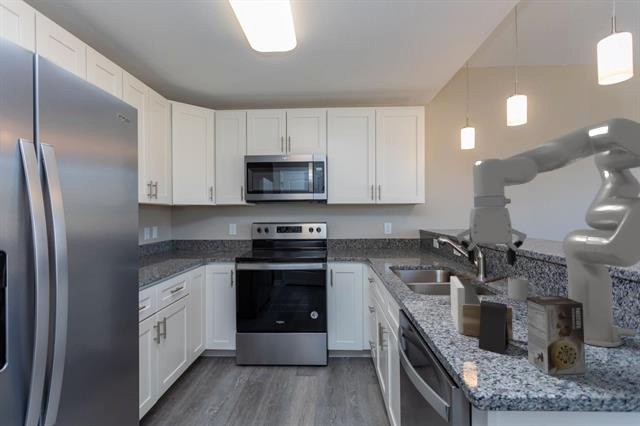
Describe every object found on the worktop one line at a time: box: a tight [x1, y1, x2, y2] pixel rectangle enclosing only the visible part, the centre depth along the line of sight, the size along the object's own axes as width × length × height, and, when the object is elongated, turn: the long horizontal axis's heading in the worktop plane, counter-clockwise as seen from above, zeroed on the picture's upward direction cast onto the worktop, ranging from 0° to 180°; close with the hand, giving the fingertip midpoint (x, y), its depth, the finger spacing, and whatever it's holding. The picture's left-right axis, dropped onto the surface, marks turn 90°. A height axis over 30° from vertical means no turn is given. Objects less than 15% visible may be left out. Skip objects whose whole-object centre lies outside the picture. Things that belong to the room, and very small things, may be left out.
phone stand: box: [478, 300, 511, 355], centre depth 82 cm, size 9×6×12 cm, turn 138°
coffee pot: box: [447, 274, 512, 307], centre depth 110 cm, size 21×12×15 cm, turn 52°
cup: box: [507, 276, 537, 302], centre depth 126 cm, size 7×10×9 cm
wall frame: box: [449, 275, 465, 335], centre depth 99 cm, size 2×18×14 cm, turn 162°
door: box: [462, 304, 514, 340], centre depth 87 cm, size 2×13×9 cm, turn 73°
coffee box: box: [526, 295, 587, 376], centre depth 70 cm, size 9×6×16 cm
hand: (491, 264), depth 83 cm, fingers open, 9 cm apart
